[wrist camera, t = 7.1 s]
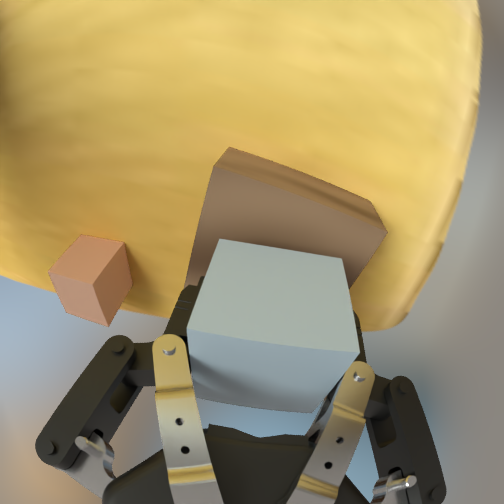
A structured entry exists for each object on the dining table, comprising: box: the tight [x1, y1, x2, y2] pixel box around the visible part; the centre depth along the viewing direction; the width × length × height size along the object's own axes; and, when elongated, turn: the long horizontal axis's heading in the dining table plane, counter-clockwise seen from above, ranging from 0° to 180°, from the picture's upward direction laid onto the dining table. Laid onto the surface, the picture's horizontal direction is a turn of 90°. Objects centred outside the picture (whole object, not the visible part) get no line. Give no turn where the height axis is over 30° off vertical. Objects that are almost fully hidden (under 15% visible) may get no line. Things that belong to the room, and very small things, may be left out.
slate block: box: [187, 239, 360, 413], centre depth 12 cm, size 6×6×5 cm
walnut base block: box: [184, 147, 388, 289], centre depth 16 cm, size 9×9×4 cm
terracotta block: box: [48, 235, 133, 327], centre depth 19 cm, size 4×4×5 cm
